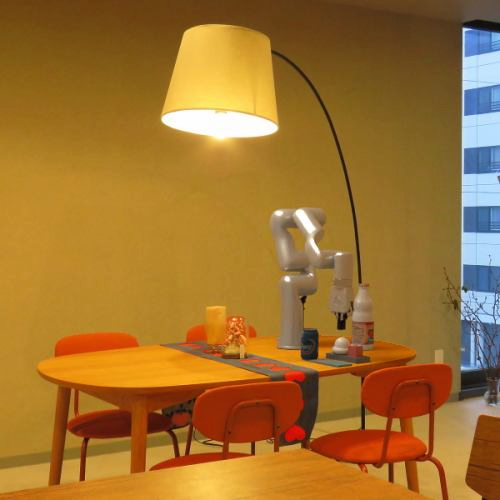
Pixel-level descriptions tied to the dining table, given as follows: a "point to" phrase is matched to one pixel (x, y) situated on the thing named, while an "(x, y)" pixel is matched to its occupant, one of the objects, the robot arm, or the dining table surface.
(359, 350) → the red die
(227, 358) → the dining table surface
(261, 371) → the dining table surface
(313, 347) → the soda can
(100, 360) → the dining table surface
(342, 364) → the board
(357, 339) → the fruit juice
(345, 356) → the game base
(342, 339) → the dome
